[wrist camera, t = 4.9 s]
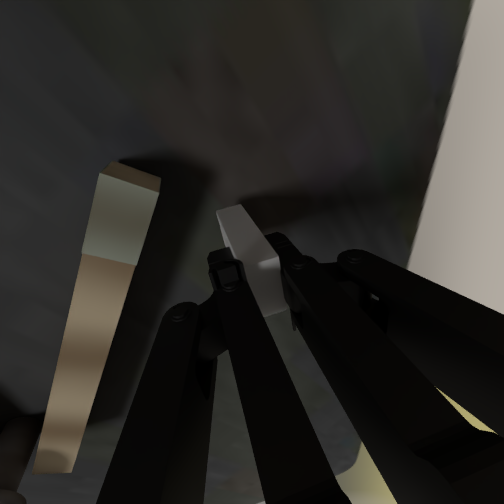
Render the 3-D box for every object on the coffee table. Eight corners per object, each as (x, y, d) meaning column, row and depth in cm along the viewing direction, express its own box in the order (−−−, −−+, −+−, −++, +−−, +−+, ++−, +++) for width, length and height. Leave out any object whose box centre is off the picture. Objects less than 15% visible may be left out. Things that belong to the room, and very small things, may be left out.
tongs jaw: (83, 430, 23) (72, 473, 20) (47, 430, 22) (30, 475, 19) (161, 178, 15) (159, 193, 13) (112, 160, 14) (99, 172, 12)
